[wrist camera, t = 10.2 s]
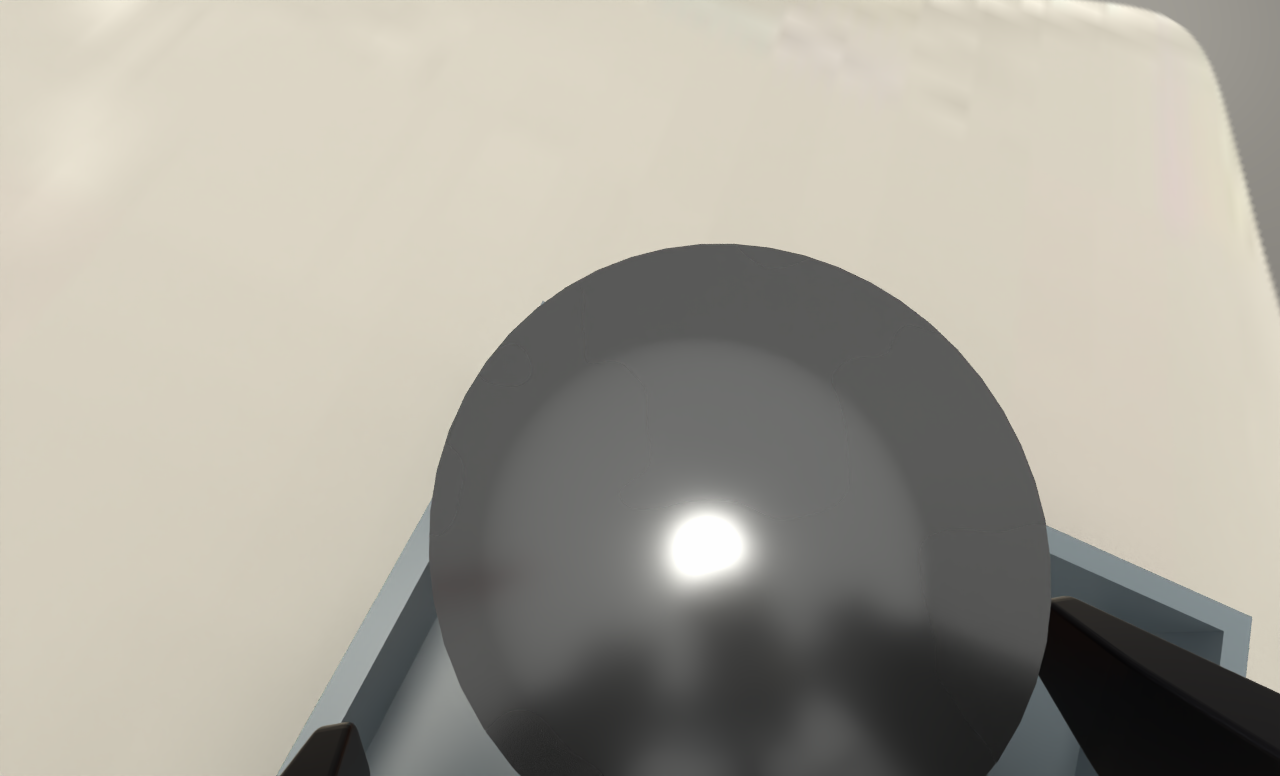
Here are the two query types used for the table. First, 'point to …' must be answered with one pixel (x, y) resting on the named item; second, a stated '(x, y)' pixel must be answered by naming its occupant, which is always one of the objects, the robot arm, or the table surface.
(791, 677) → the tin
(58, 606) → the table surface
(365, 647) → the tote
